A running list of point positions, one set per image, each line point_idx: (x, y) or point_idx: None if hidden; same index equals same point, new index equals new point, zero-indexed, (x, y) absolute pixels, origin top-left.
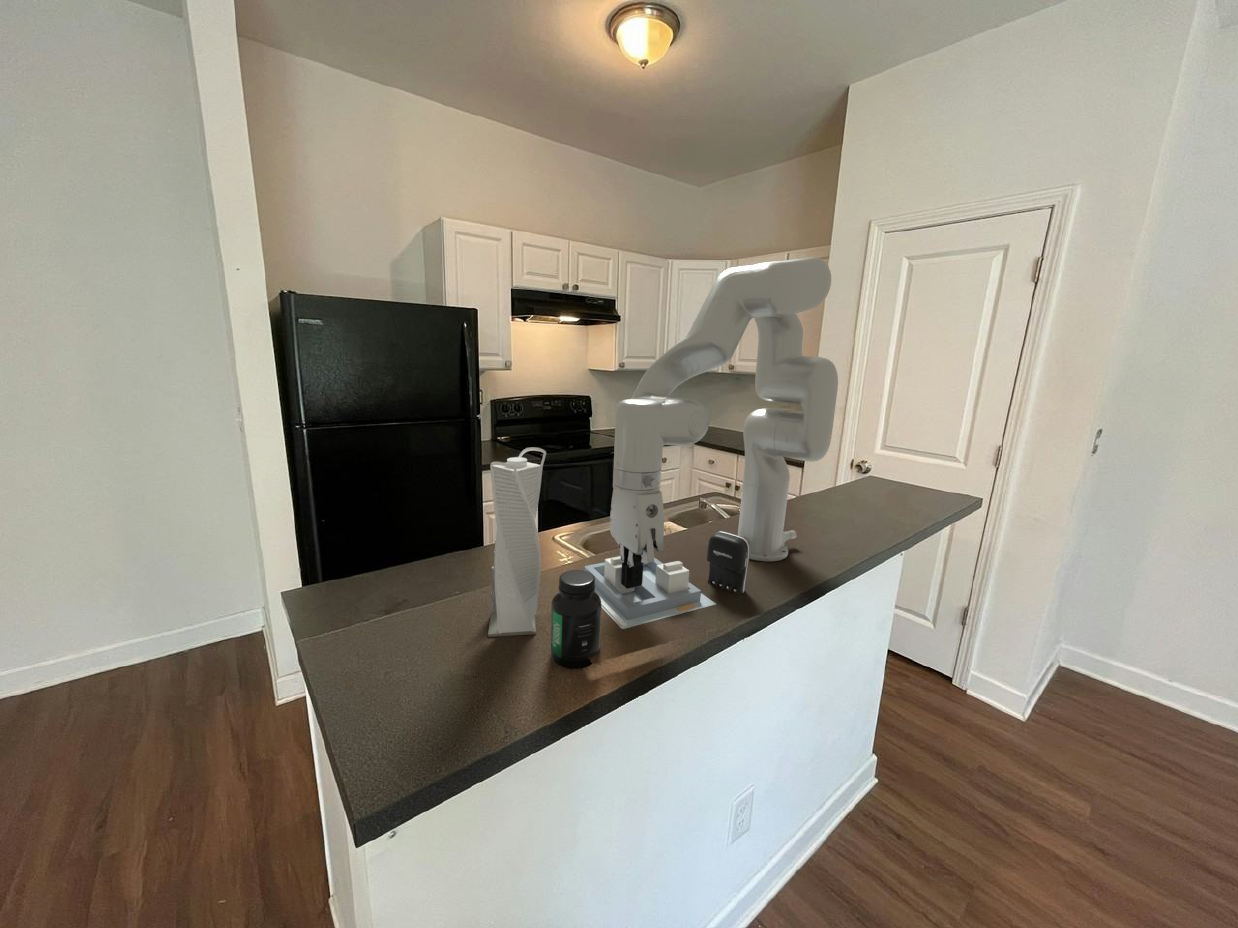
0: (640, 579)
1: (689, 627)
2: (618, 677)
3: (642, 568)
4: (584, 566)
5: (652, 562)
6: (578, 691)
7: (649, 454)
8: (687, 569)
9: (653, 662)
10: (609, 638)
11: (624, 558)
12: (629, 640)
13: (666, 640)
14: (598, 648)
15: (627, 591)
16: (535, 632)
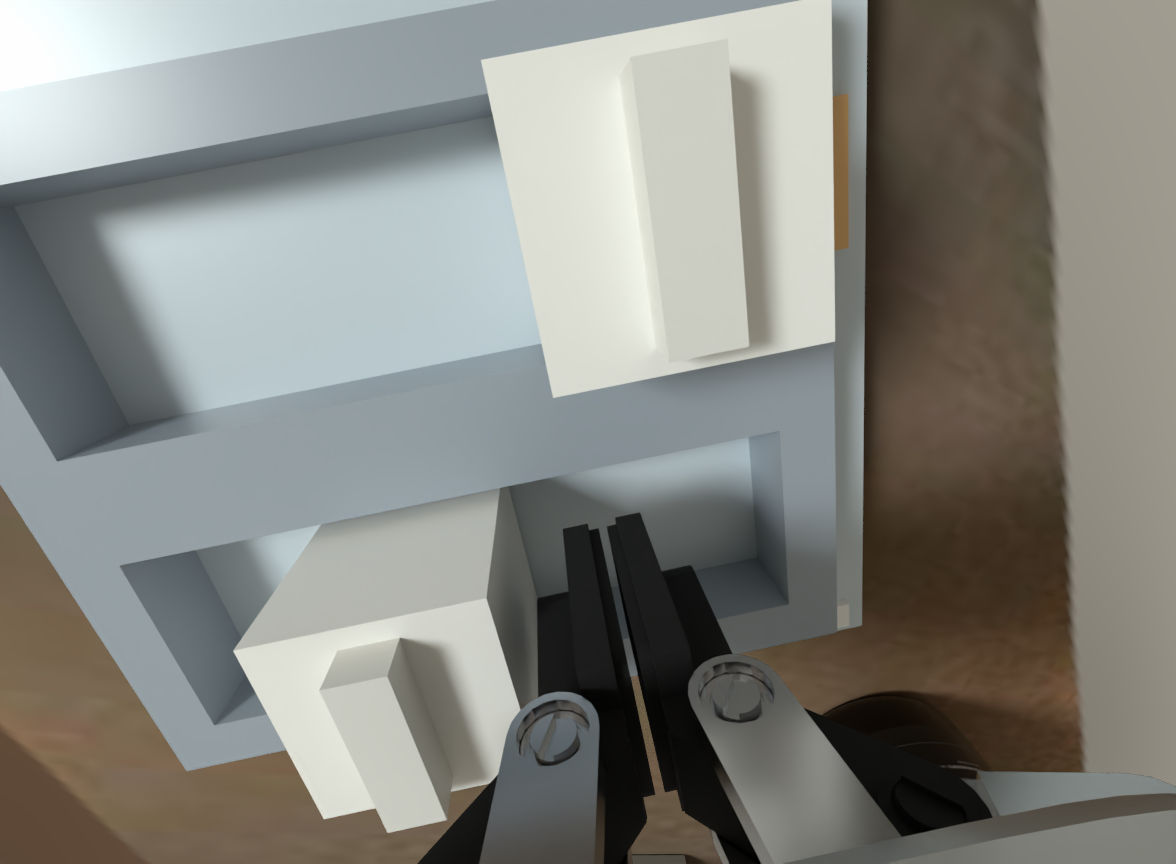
0: (696, 577)
1: (904, 219)
2: (1045, 654)
3: (673, 608)
4: (190, 768)
5: (1147, 787)
6: (1032, 765)
7: None
8: (789, 6)
9: (1048, 517)
10: (816, 638)
11: (631, 860)
12: (866, 567)
13: (946, 405)
14: (969, 746)
15: (517, 523)
16: (685, 862)
